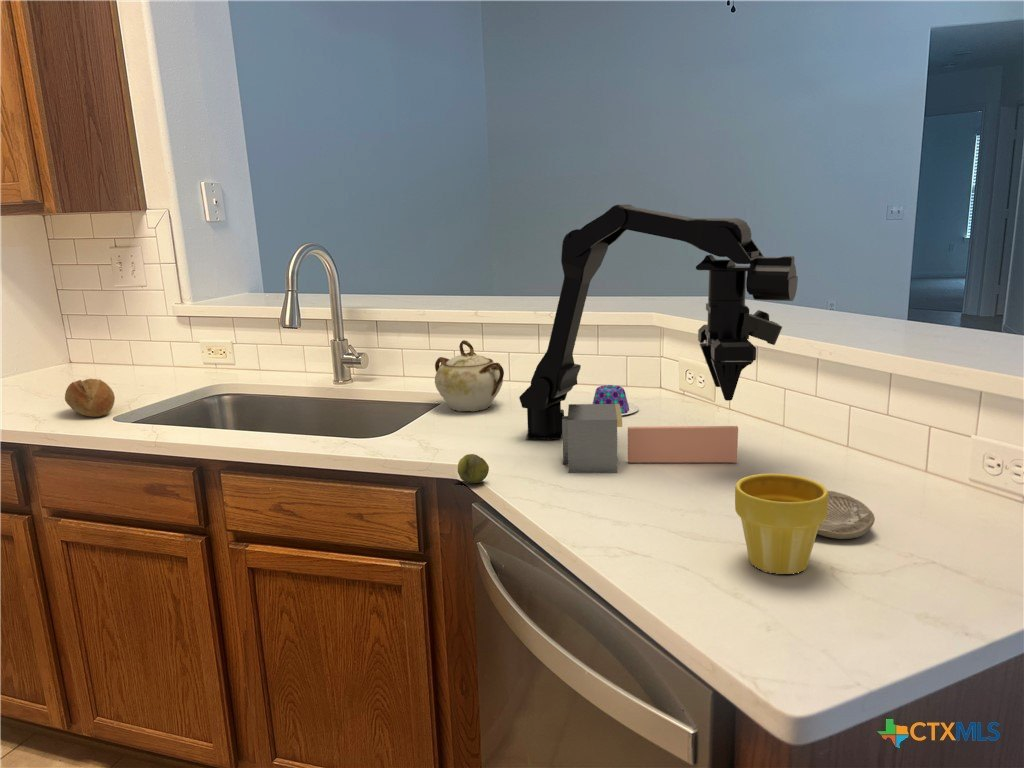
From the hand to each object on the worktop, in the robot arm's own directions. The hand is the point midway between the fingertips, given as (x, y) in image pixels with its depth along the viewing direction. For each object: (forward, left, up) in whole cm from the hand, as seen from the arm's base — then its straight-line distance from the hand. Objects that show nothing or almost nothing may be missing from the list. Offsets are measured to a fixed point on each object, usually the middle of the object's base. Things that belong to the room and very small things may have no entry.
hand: (723, 393), depth 127 cm
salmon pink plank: (-7, 0, -12) cm, 13 cm away
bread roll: (-135, +35, -12) cm, 140 cm away
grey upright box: (-22, 0, -12) cm, 25 cm away
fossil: (+9, -26, -12) cm, 31 cm away
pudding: (-18, +34, -12) cm, 40 cm away
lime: (-41, -10, -12) cm, 44 cm away
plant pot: (0, -37, -12) cm, 39 cm away
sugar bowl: (-48, +37, -12) cm, 62 cm away
